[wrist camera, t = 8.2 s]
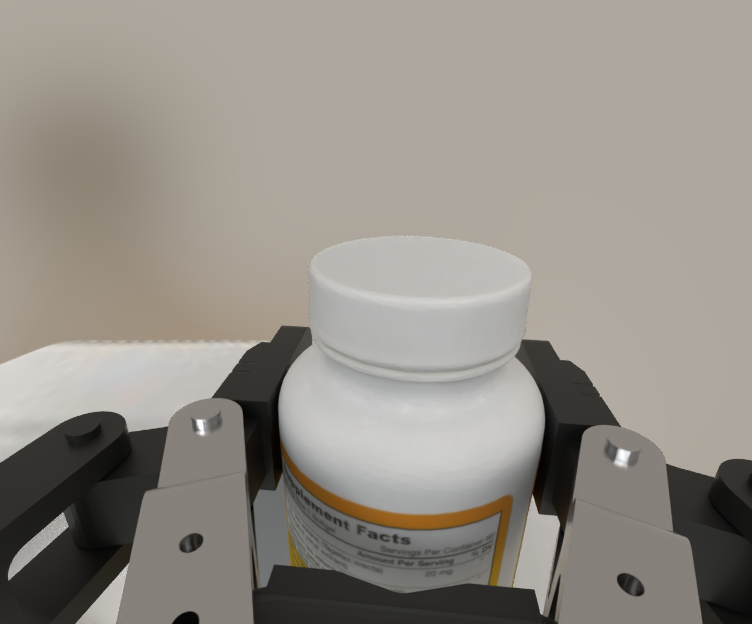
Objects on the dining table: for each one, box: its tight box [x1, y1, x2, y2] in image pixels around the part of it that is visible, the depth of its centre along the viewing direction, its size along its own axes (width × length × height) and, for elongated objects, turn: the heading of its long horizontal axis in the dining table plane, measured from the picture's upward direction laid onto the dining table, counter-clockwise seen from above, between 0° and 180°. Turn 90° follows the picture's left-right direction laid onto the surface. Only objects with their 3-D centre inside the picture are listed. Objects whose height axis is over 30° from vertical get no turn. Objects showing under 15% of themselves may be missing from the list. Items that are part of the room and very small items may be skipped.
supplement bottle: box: [278, 236, 545, 593], centre depth 10 cm, size 5×5×10 cm
